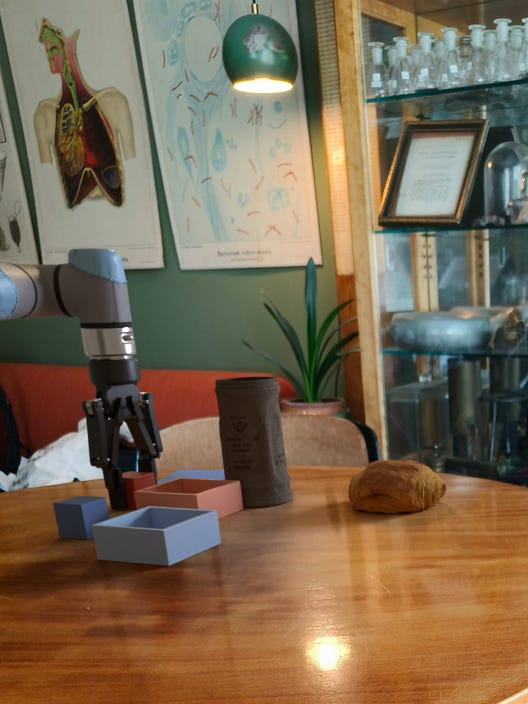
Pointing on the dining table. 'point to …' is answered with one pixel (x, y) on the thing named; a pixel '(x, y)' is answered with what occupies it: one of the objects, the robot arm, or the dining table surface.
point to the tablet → (194, 475)
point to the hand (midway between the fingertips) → (135, 503)
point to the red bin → (193, 495)
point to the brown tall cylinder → (253, 439)
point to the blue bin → (156, 535)
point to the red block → (136, 485)
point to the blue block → (80, 516)
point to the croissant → (395, 487)
